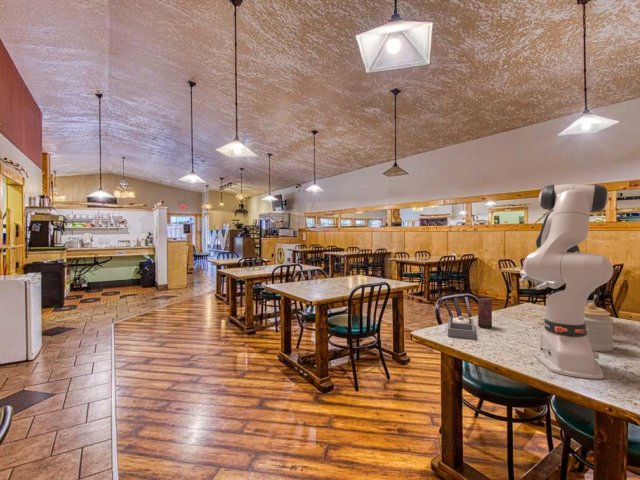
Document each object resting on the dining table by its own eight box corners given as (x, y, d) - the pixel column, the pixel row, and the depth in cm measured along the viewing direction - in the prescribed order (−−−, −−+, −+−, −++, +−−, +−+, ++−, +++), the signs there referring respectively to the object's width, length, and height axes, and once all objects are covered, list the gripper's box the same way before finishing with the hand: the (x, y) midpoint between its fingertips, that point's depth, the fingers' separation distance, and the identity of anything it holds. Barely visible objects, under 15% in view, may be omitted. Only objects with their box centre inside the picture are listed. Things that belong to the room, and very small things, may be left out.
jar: (568, 346, 129) (569, 303, 128) (573, 338, 138) (573, 298, 138) (612, 355, 120) (613, 308, 119) (613, 346, 129) (614, 302, 129)
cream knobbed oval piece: (469, 328, 151) (469, 319, 151) (452, 327, 154) (452, 317, 154) (469, 324, 158) (469, 315, 158) (452, 322, 161) (452, 314, 161)
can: (494, 328, 154) (494, 299, 153) (480, 328, 155) (479, 299, 155) (490, 325, 160) (490, 297, 159) (476, 324, 161) (476, 297, 161)
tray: (475, 339, 139) (475, 331, 139) (448, 336, 143) (447, 328, 143) (472, 325, 159) (472, 318, 159) (449, 323, 164) (449, 316, 164)
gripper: (530, 260, 170) (510, 274, 168) (567, 271, 150) (545, 286, 149) (534, 270, 171) (513, 283, 170) (571, 281, 152) (548, 297, 150)
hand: (528, 285), depth 159 cm, fingers open, 8 cm apart
